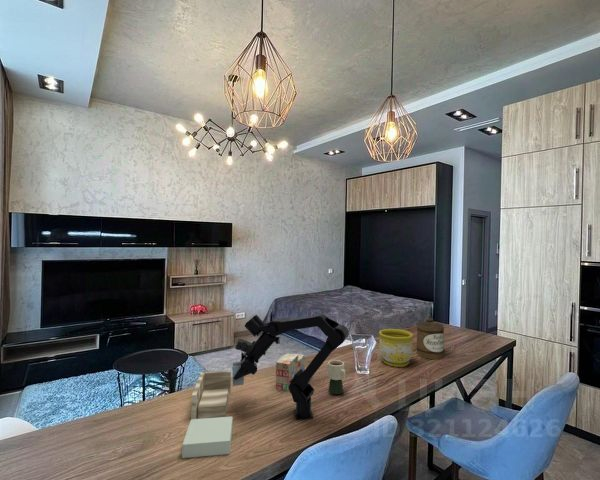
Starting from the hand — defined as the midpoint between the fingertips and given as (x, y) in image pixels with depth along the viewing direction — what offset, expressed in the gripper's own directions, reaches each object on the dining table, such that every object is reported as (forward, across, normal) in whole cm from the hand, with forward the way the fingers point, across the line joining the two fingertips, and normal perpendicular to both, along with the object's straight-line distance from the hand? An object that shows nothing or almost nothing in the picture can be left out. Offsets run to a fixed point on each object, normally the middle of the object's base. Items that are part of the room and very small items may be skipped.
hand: (234, 375), depth 124 cm
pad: (+14, +20, +4) cm, 25 cm away
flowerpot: (-48, -38, +72) cm, 94 cm away
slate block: (+1, 0, +3) cm, 3 cm away
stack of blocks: (-8, -23, +28) cm, 37 cm away
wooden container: (-66, -46, +91) cm, 121 cm away
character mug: (-20, -8, +41) cm, 46 cm away
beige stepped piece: (+15, -6, +2) cm, 17 cm away
